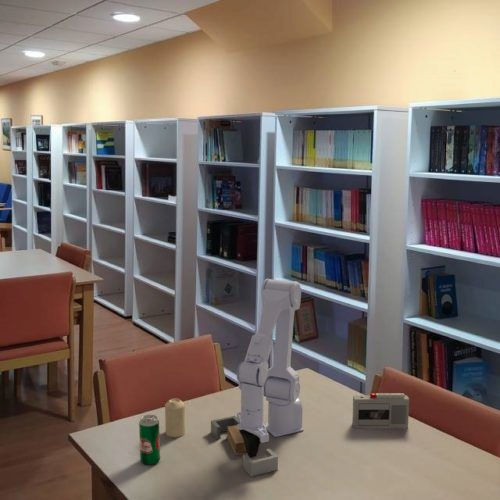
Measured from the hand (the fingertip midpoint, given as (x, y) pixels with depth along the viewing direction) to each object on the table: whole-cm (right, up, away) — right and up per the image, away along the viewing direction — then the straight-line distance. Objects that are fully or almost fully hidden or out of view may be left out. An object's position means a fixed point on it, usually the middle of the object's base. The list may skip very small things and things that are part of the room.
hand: (252, 455), depth 157 cm
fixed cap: (-7, +1, +15) cm, 17 cm away
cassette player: (+37, +2, +19) cm, 42 cm away
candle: (-22, +1, +15) cm, 26 cm away
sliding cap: (+2, -2, -4) cm, 5 cm away
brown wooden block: (-4, 0, +8) cm, 9 cm away
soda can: (-26, -2, 0) cm, 26 cm away
